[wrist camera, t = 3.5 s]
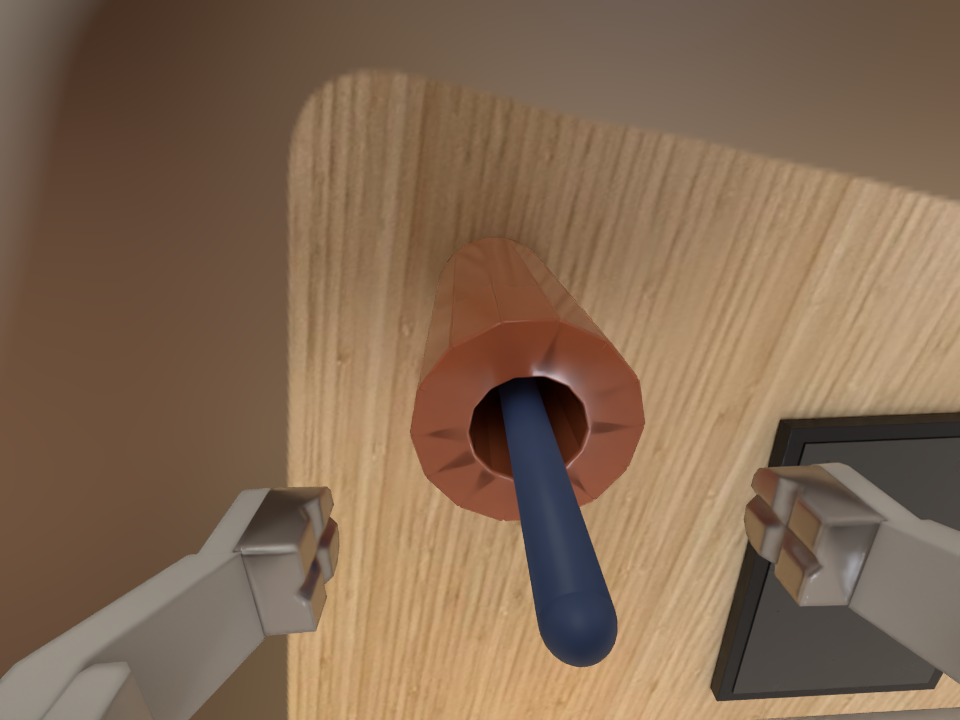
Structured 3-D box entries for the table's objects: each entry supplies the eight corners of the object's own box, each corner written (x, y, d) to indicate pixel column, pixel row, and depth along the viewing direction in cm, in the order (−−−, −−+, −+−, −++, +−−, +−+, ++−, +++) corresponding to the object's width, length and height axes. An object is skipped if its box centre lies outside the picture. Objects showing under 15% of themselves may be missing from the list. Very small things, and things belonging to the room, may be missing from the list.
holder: (433, 238, 22) (399, 324, 10) (552, 234, 22) (660, 315, 10) (439, 348, 24) (418, 526, 12) (548, 344, 24) (633, 516, 12)
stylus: (483, 286, 22) (545, 631, 6) (505, 285, 22) (633, 626, 6) (483, 308, 23) (543, 688, 6) (505, 307, 23) (625, 684, 6)
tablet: (780, 419, 27) (792, 429, 26) (1064, 408, 27) (1088, 417, 26) (710, 687, 36) (717, 703, 35) (922, 676, 36) (936, 690, 35)
